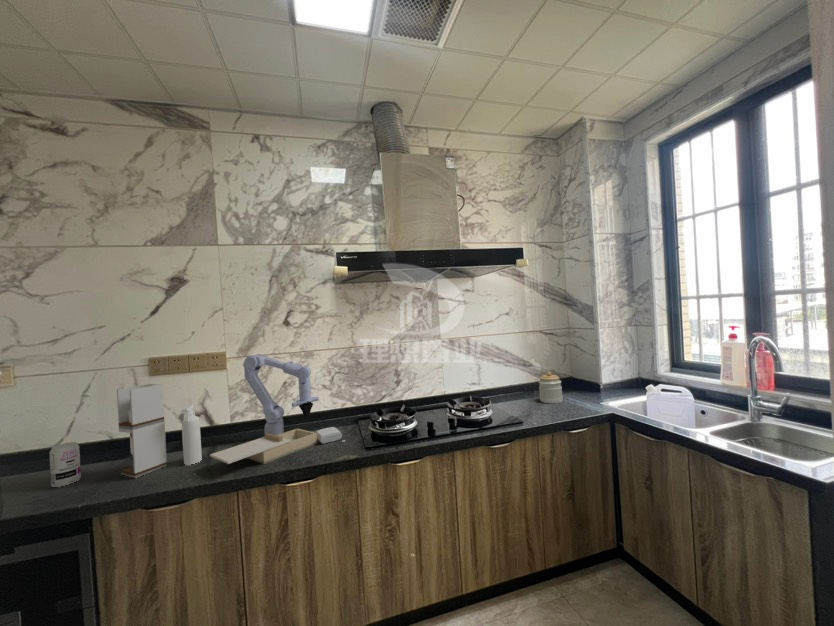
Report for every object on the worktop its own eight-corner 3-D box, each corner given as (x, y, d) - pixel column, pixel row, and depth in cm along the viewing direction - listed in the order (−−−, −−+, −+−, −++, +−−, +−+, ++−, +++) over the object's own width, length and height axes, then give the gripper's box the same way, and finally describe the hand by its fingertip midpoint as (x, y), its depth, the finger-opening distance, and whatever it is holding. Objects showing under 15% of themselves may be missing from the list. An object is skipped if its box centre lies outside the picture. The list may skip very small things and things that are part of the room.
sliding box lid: (210, 456, 140) (209, 449, 140) (270, 436, 160) (270, 430, 160) (228, 463, 130) (227, 457, 130) (290, 441, 150) (289, 435, 151)
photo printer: (342, 439, 164) (334, 433, 175) (341, 430, 164) (334, 425, 175) (320, 445, 159) (314, 438, 170) (320, 435, 159) (313, 429, 170)
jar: (542, 404, 202) (539, 374, 202) (538, 399, 215) (535, 370, 215) (565, 403, 200) (563, 373, 200) (560, 398, 213) (557, 369, 213)
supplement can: (64, 480, 140) (62, 442, 140) (86, 477, 140) (84, 440, 141) (44, 489, 132) (42, 450, 132) (68, 487, 132) (66, 447, 133)
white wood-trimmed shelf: (152, 464, 150) (148, 383, 151) (166, 466, 146) (162, 384, 147) (121, 475, 140) (116, 389, 141) (135, 478, 136) (130, 389, 137)
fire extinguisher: (208, 454, 157) (202, 400, 156) (197, 466, 145) (191, 407, 144) (191, 457, 155) (186, 402, 155) (179, 469, 143) (173, 409, 143)
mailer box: (245, 457, 150) (244, 445, 151) (297, 438, 171) (296, 428, 171) (264, 464, 141) (263, 452, 141) (317, 443, 161) (316, 432, 162)
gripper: (297, 394, 165) (298, 423, 164) (321, 388, 176) (323, 415, 176) (288, 393, 169) (290, 421, 169) (313, 387, 181) (315, 413, 180)
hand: (306, 418), depth 173 cm, fingers closed
